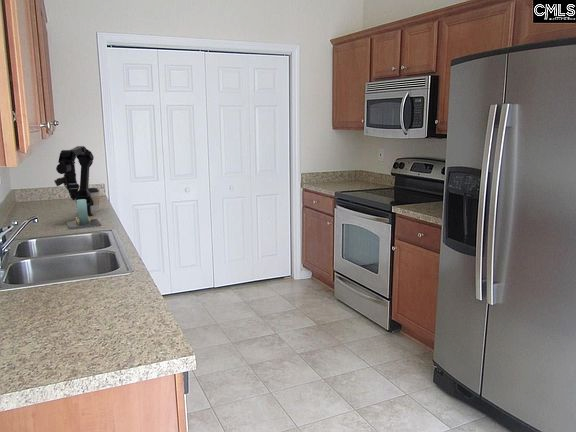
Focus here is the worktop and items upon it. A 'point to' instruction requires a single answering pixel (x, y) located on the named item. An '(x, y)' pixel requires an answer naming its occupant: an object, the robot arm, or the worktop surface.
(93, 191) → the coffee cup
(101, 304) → the worktop surface
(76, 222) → the metal base plate
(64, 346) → the worktop surface
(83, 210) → the post
